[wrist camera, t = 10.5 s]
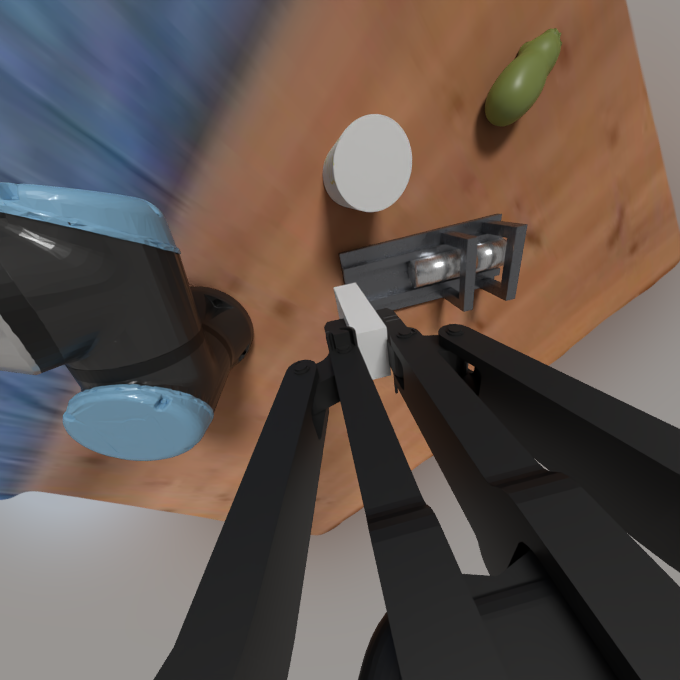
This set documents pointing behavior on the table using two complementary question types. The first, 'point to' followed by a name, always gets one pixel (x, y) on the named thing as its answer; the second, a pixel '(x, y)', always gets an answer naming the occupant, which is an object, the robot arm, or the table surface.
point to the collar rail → (394, 256)
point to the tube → (455, 263)
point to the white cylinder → (368, 164)
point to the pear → (522, 79)
